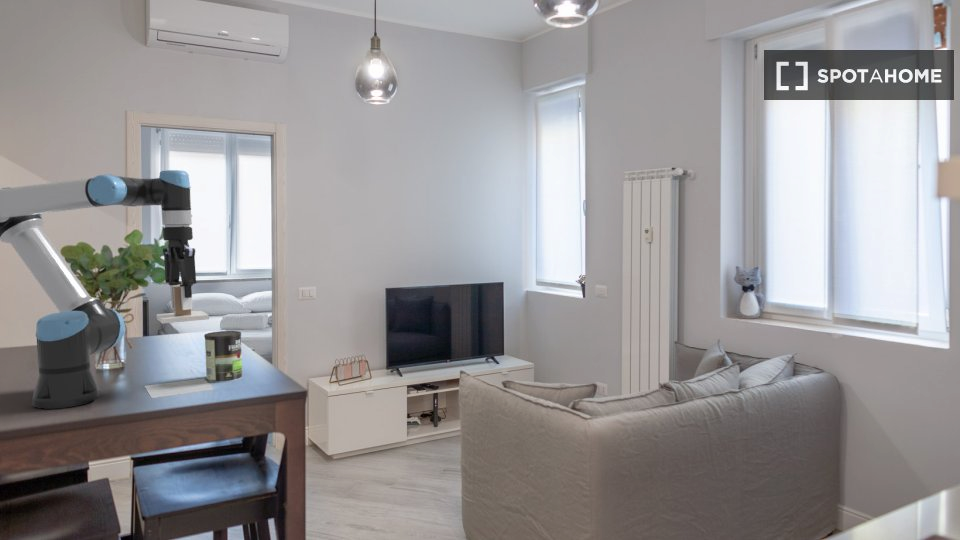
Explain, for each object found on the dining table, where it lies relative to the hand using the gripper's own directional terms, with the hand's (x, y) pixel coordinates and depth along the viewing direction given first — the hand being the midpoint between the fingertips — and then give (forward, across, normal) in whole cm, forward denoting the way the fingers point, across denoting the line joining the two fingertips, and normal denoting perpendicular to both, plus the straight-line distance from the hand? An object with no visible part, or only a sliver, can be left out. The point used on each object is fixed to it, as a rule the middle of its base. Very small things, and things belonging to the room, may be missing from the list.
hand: (182, 308), depth 187 cm
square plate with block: (+3, 0, 0) cm, 3 cm away
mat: (+23, 0, +2) cm, 23 cm away
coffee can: (+23, +1, -12) cm, 26 cm away
